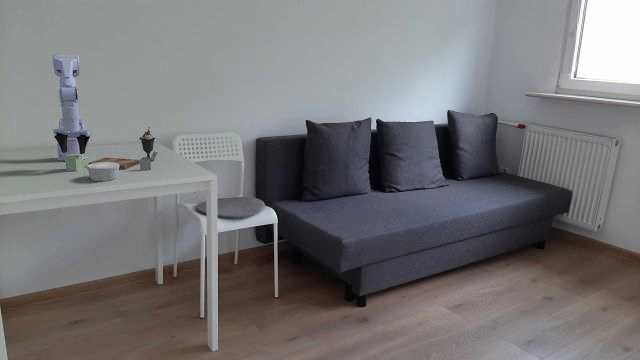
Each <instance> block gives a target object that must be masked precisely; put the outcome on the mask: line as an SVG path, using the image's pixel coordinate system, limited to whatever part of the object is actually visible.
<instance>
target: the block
mask: <svg viewBox="0 0 640 360" xmlns="http://www.w3.org/2000/svg"><path fill="white" fill-rule="evenodd" d="M83 157H84V154H83V155H82V154H69V155H66V156H65V161H64V162H65V171H68V172H79V171H82V170H84V168H85V167H84V160H83Z"/></svg>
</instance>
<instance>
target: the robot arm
mask: <svg viewBox="0 0 640 360" xmlns="http://www.w3.org/2000/svg"><path fill="white" fill-rule="evenodd" d="M52 65H53V69H54V74H55V76H57V77H59V88H58V95H59V103H60V108H61V117H62V118H60V119H59V121H58V128H53V129H52V131H53V135H54V136H53V137H54V139H55V141H57V145H56V146H57V147H56V149H57V157H58V158H57V159H56V161H64V162H65V156H66V155H69V154H82V155H83V161H84V160H86V159H88V158H89V157H88V156H84V154H86V148H87V145H88V142H89V140H90V139H91V130H86V129H85V122H84V120H83V119H82V118H81V117H79V105H78V103H79V90H78V86H77V81H76V78H77V77H79V76H80V70H81V68H80V56H79V55H77V54H55V53H54V54H53V55H52Z"/></svg>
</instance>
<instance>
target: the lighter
mask: <svg viewBox="0 0 640 360" xmlns="http://www.w3.org/2000/svg"><path fill="white" fill-rule="evenodd" d="M153 150H154V151H152V154H151V156H150V158H151V159H148V157H147V156H142V157H141V158H140V159H139V160H140V163H139V168H140V169H139V170H140V171H151V170H152V162H154V161H155V159H156V158H157V155H158V153H159V151H158V150H156V149H153ZM151 160H153V161H152V162H151Z"/></svg>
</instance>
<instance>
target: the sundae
mask: <svg viewBox="0 0 640 360" xmlns="http://www.w3.org/2000/svg"><path fill="white" fill-rule="evenodd" d="M138 139H139V140H140V141H141V145H142V146H141V147H142V150H143V151H144V152H145V153H146V157H148V159H151V155H150V154H151V152H153V150H154V144H155V143H154V142H155V140H156V137H154V136H153V134H152V132H151V130H150V127H149V126H148V128H147V131H145V132H143V135H142V136H140V137H139V138H138ZM152 162H154V161H153V160H151V163H152Z"/></svg>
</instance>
